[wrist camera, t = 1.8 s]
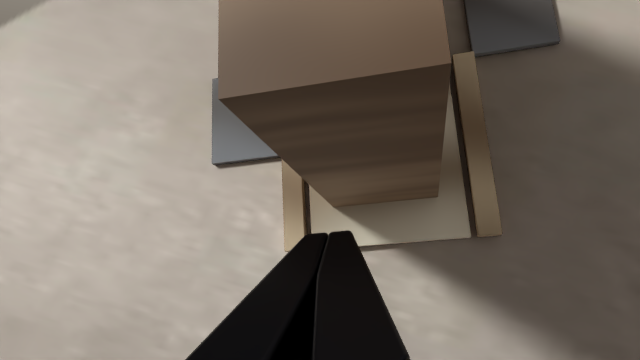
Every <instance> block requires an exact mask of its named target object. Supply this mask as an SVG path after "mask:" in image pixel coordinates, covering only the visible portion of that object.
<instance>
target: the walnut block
mask: <svg viewBox="0 0 640 360" xmlns="http://www.w3.org/2000/svg"><path fill="white" fill-rule="evenodd" d="M450 73H451V56H450V49H449V42H448V35H447V28H446V21H445V14H444V7H443V0H219V43H218V99H219V100H220V101H221V102H222V103H223V104H224V105H225V106H226V107H227V108H228V109H229V110H230V111H231V112H232V113H233V114H235V115H236V116H237V117H238V118H239V119H240V120H241V121H242V122H243V123H244V124H245V125H246V126H247V127H248V128H249V129H251V130H252V131H253V132H254V133H255V134H256V135H257V136H258V137H259V138H260V139H261V140H262V141H263V142H264V143H265V144H266V145H268V146H269V147H270V148H271V149H272V150H273V151H274V152H275V153H276V154H277V155H278V156H279V157H280V158H281V159H282V160H284V161H285V162H286V163H287V164H288V165H289V166H290V167H291V168H292V169H293V170H294V171H295V172H296V173H297V174H298V175H299V176H301V177H302V178H303V179H304V180H305V181H306V182H307V183H308V184H309V185H310V186H311V187H312V188H313V189H314V190H315V191H316V192H318V193H319V194H320V195H321V196H322V197H323V198H324V199H325V200H326V201H327V202H328V203H329V204H330V205H331V206H332V207H342V206H353V205H363V204H373V203H383V202H393V201H404V200H414V199H424V198H434V197H438V192H439V182H440V172H441V162H442V152H443V142H444V132H445V122H446V112H447V102H448V92H449V82H450Z"/></svg>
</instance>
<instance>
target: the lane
mask: <svg viewBox="0 0 640 360" xmlns="http://www.w3.org/2000/svg"><path fill="white" fill-rule="evenodd" d="M464 5H465V11H466V18H467V24H468V31H469V37H470V43H471V50H472V51H471V52H465V53H459V54H453V57H452V63H453V70H454V77H455V84H456V91H457V98H458V105H459V112H460V119H461V126H462V133H463V140H464V147H465V154H466V161H467V168H468V175H469V182H470V189H471V196H472V203H473V210H474V217H475V224H476V231H477V237H486V236H499V235H502V227H501V221H500V215H499V208H498V202H497V195H496V189H495V183H494V176H493V170H492V164H491V157H490V151H489V145H488V138H487V132H486V126H485V119H484V113H483V107H482V100H481V94H480V87H479V81H478V75H477V68H476V62H475V57H477V56H483V55H490V54H496V53H503V52H509V51H515V50H522V49H528V48H535V47H541V46H547V45H554V44H559V42H560V37H559V33H558V28H557V23H556V19H555V14H554V9H553V5H552V0H464ZM276 157H279V156H278V155H277V154H276V153H275V152H274V151H273V150H272V149H271V148H270V147H269V146H268V145H266V144H265V143H264V142H263V141H262V140H261V139H260V138H259V137H258V136H257V135H256V134H255V133H254V132H253V131H252V130H251V129H249V128H248V127H247V126H246V125H245V124H244V123H243V122H242V121H241V120H240V119H239V118H238V117H237V116H236V115H235V114H233V113H232V112H231V111H230V110H229V109H228V108H227V107H226V106H225V105H224V104H223V103H222V102H221V101H220V100H219V99H218V78H216V79H213V83H212V164H213V165H219V164H227V163H235V162H243V161H252V160H260V159H268V158H276ZM282 186H283V216H284V247H285V251H286V252H289V251H290V250H291V249H292V248H293V247H294V246H295V245H296V244H297V243H298V242H299V241H300V240H301V239H302V238H303V237H304V236H305V235H306V234H307V224H306V202H305V180H304V179H303V178H302V177H301V176H299V175H298V174H297V173H296V172H295V171H294V170H293V169H292V168H291V167H290V166H289V165H288V164H287V163H286V162H285V161H284V160H282ZM309 194H310V215H311V234H312V233H324V232H325V233H327V234H328V235H329V233H331V232H335V231H346V230H349V231H351V232H352V233H353V236H354V238H355V240H356V242H357V244H358V246H359V247H360V246H373V245H385V244H398V243H411V242H423V241H436V240H448V239H461V238H471V232H470V225H469V218H468V211H467V204H466V197H465V189H464V182H463V175H462V168H461V161H460V153H459V146H458V139H457V132H456V125H455V118H454V110H453V103H452V96H451V89H450V82H449V92H448V102H447V112H446V122H445V132H444V142H443V152H442V162H441V172H440V182H439V192H438V197H434V198H424V199H414V200H404V201H393V202H383V203H373V204H363V205H353V206H342V207H332V206H331V205H330V204H329V203H328V202H327V201H326V200H325V199H324V198H323V197H322V196H321V195H320V194H319V193H318V192H316V191H315V190H314V189H313V188H312V187H311V186H310V185H309Z"/></svg>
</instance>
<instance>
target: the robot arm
mask: <svg viewBox="0 0 640 360" xmlns="http://www.w3.org/2000/svg"><path fill="white" fill-rule="evenodd" d="M185 360H410V357H409V354H408V352H407V350H406V348H405V346H404V344H403V341H402V339H401V337H400V335H399V333H398V331H397V328H396V326H395V324H394V322H393V320H392V318H391V315H390V313H389V311H388V309H387V307H386V305H385V303H384V300H383V298H382V296H381V294H380V292H379V290H378V287H377V285H376V283H375V281H374V279H373V277H372V274H371V272H370V270H369V268H368V266H367V264H366V261H365V259H364V257H363V255H362V253H361V251H360V249H359V246H358V244H357V242H356V240H355V238H354V236H353V233H352V232H351V231H349V230H346V231H335V232H331V233H329V235H328V234H327V233H325V232H324V233H312V234H306V235H305V236H304V237H303V238H302V239H301V240H300V241H299V242H298V243H297V244H296V245H295V246H294V247H293V248H292V249H291V250H290V251H289V252H288V253H287V254H286V255H285V256H284V258H283V259H282V260H281V261H280V262H279V263H278V264H277V265H276V266H275V267H274V268H273V269H272V270H271V271H270V272H269V273H268V274H267V275H266V276H265V277H264V278H263V279H262V280H261V281H260V282H259V284H258V285H257V286H256V287H255V288H254V289H253V290H252V291H251V292H250V293H249V294H248V295H247V296H246V297H245V298H244V299H243V300H242V301H241V302H240V303H239V304H238V305H237V306H236V307H235V308H234V310H233V311H232V312H231V313H230V314H229V315H228V316H227V317H226V318H225V319H224V320H223V321H222V322H221V323H220V324H219V325H218V326H217V327H216V328H215V329H214V330H213V331H212V332H211V333H210V335H209V336H208V337H207V338H206V339H205V340H204V341H203V342H202V343H201V344H200V345H199V346H198V347H197V348H196V349H195V350H194V351H193V352H192V353H191V354H190V355H189V356H188V357H187V358H186V359H185Z"/></svg>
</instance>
